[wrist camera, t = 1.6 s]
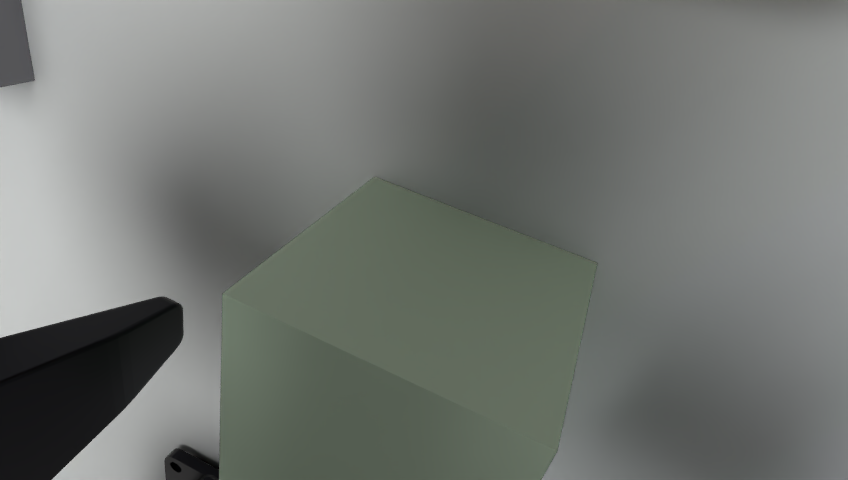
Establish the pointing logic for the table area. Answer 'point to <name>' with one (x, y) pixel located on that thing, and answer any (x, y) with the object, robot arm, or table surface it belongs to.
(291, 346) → the sage cube
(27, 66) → the charcoal cube
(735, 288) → the table surface
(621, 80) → the table surface
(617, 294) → the table surface
